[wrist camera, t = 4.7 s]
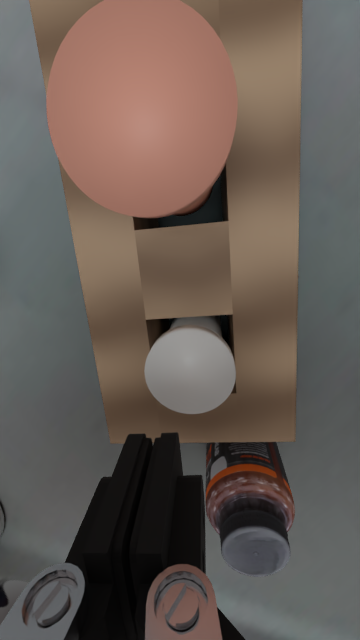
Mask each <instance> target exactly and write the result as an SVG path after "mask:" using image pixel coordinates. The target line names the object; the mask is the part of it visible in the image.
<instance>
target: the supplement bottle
mask: <svg viewBox="0 0 360 640" xmlns="http://www.w3.org/2000/svg"><path fill="white" fill-rule="evenodd" d="M206 457H207V459H206V512H207V516H208V518H209V521H210V523H211V525H212V526H213V528H214V529H215V530H216V532H217V533H218V534H219V535H220V539H221V552H222V556H223V558H224V560H225V561H226V563H227V564H228V565H229V566H230V567H231V568H232V569H234V570H235V571H237V572H239V573H241V574H244V575H248V576H254V577H258V576H268V575H271V574H274V573H277V572H278V571H280V570H282V569H283V567H284V566H286V564H287V563H288V561H289V558H290V546H289V542H288V534H287V532H288V531H289V529H290V528H291V526H292V523H293V520H294V515H295V507H294V501H293V497H292V493H291V490H290V486H289V483H288V480H287V477H286V473H285V470H284V467H283V463H282V460H281V457H280V454H279V450H278V447H277V444H276V442H211V443H207V453H206Z"/></svg>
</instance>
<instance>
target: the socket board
mask: <svg viewBox="0 0 360 640" xmlns="http://www.w3.org/2000/svg"><path fill="white" fill-rule="evenodd" d="M102 1H104V0H29V2H30V8H31V13H32V19H33V24H34V29H35V35H36V40H37V46H38V51H39V57H40V62H41V67H42V73H43V78H44V84H45V89H46V95H47V88H48V81H49V76H50V71H51V68H52V65H53V62H54V58H55V56H56V53H57V51H58V49H59V47H60V45H61V43H62V41H63V40H64V38H65V36H66V35H67V33H68V31H69V30H70V29H71V28H72V26H73V25H74V24H75V23H76V22H77V20H78V19H79V18H80V17H82V16H83V15H84V14H85V13H86V12H87V11H88V10H89V9H91V8H92V7H94V6H95V5H97V4H98V3H100V2H102ZM180 1H182V2H183V3H185V4H187V5H188V6H190V7H192V8H193V9H194V10H195V11H196V12H198V13H199V14H200V15H201V16H202V17H203V18H204V19H205V20H206V21H207V22H208V23H209V24H210V26H211V27H212V28H213V29H214V31H215V32H216V34H217V35H218V37H219V38H220V40H221V41H222V43H223V45H224V47H225V49H226V51H227V53H228V56H229V59H230V62H231V65H232V68H233V71H234V76H235V81H236V86H237V97H238V109H237V121H236V128H235V133H234V138H233V142H232V146H231V150H230V153H229V156H228V159H227V161H226V164H225V166H224V168H223V170H222V172H221V174H220V178H221V198H222V218H223V222H214V223H204V224H194V225H184V226H174V227H164V228H159V224H158V218H140V217H133V216H128V215H124V214H120V213H117V212H114V211H112V210H109V209H107V208H105V207H103V206H101V205H99V204H98V203H96V202H95V201H93V200H92V199H91V198H89V197H88V196H87V195H85V194H84V193H83V192H82V191H81V190H80V189H79V188H78V187H77V186H76V184H75V183H74V182H73V181H72V179H71V178H70V177H69V175H68V174H67V172H66V171H65V169H64V168H63V166H62V164H61V162H60V160H59V158H58V160H59V165H60V171H61V176H62V182H63V187H64V193H65V198H66V203H67V209H68V214H69V220H70V225H71V231H72V236H73V241H74V247H75V252H76V258H77V263H78V269H79V274H80V279H81V285H82V290H83V296H84V301H85V307H86V312H87V318H88V323H89V328H90V334H91V339H92V345H93V350H94V356H95V361H96V366H97V372H98V377H99V383H100V388H101V394H102V399H103V404H104V410H105V415H106V421H107V426H108V432H109V437H110V443H111V444H113V443H125V441H126V438H127V436H128V434H142V433H145V434H146V438H151V439H152V443H154V440H155V438H159V437H161V433H172V432H178V435H179V443H211V442H295V431H296V370H297V308H298V246H299V184H300V122H301V60H302V0H180ZM213 315H227V317H228V337H229V348H230V349H231V352H232V354H233V358H234V363H235V370H236V379H235V384H234V387H233V390H232V392H231V394H230V395H229V396H228V398H227V399H226V400H225V401H224V402H223V403H222V404H221V405H220V406H218V407H216V408H215V409H213V410H210V411H208V412H205V413H200V414H184V413H180V412H176V411H173V410H171V409H169V408H167V407H165V406H164V405H162V404H161V403H160V402H159V401H158V400H157V399H156V398H155V397H154V396H153V395H152V393H151V392H150V390H149V388H148V386H147V383H146V379H145V372H144V370H145V362H146V359H147V356H148V354H149V352H150V350H151V348H152V346H153V344H154V343H155V341H156V340H157V339H158V338H159V337H160V336H161V335H162V334H163V333H165V332H166V331H168V330H169V329H170V327H169V318H181V317H197V316H213Z"/></svg>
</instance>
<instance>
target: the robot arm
mask: <svg viewBox="0 0 360 640" xmlns="http://www.w3.org/2000/svg"><path fill="white" fill-rule="evenodd" d="M3 529H4V515H3V511H2V508H1V506H0V537H1V534H2V532H3ZM0 640H245V639H244V637H243V636H242V635H241V634H240V633H239V632H238V631H237V629H236V628H235V627H234V626H233V625H232V624H231V622H230V621H229V620H228V619H227V618H226V617H225V616H224V614H223V613H222V612H221V611H220V610H219V609H218V608H217V605H216V599H215V594H214V590H213V587H212V584H211V582H210V581H209V579H208V578H207V576H206V569H205V505H204V491H203V480H202V475H187V476H183V471H182V462H181V452H180V443H179V435H178V432H172V433H161V437H159V438H155V440H154V445H153V444H152V439H151V438H146V434H145V433H142V434H128V436H127V438H126V441H125V443H124V446H123V449H122V451H121V454H120V456H119V459H118V462H117V464H116V467H115V469H114V472H113V475H112V477H103V478H102V479H101V480H100V482H99V484H98V486H97V489H96V491H95V493H94V496H93V498H92V500H91V503H90V505H89V507H88V510H87V512H86V514H85V517H84V519H83V521H82V524H81V526H80V528H79V531H78V533H77V535H76V538H75V540H74V543H73V545H72V547H71V550H70V552H69V554H68V557H67V559H66V561H65V563H59V564H55V565H52V566H50V567H48V568H46V569H45V570H43V571H41V572H40V573H39V574H37V575H36V576H35V577H34V578H33V579H32V580H31V581H30V582H29V583H28V585H27V586H26V587H25V589H24V590H23V591H22V593H21V594H20V596H19V597H18V599H17V600H16V602H15V604H14V605H13V607H12V608H11V610H10V611H9V613H8V614H7V616H6V618H5V619H4V621H3V622H2V624H1V625H0Z"/></svg>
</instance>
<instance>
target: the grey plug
mask: <svg viewBox="0 0 360 640" xmlns="http://www.w3.org/2000/svg"><path fill="white" fill-rule="evenodd" d="M144 372H145V379H146V383H147V386H148V388H149V390H150V392H151V393H152V395H153V396H154V397H155V398H156V399H157V400H158V401H159V402H160V403H161V404H162V405H164V406H165V407H167V408H169V409H171V410H173V411H176V412H180V413H184V414H200V413H205V412H208V411H210V410H213V409H215V408H216V407H218V406H220V405H221V404H222V403H223V402H224V401H225V400H226V399H227V398H228V396H229V395H230V394H231V392H232V390H233V387H234V384H235V379H236V370H235V363H234V358H233V354H232V352H231V349H230V348H229V346H228V344H227V343H226V342H225V340H224V339H223V338H222V329H221V320H220V315H213V316H197V317H181V318H174V320H173V322H172V324H171V327H170V329H169V330H168V331H166V332H165V333H163V334H162V335H161V336H160V337H159V338H158V339H157V340H156V341H155V343H154V344H153V346H152V348H151V350H150V352H149V354H148V356H147V359H146V362H145V370H144Z"/></svg>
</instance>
